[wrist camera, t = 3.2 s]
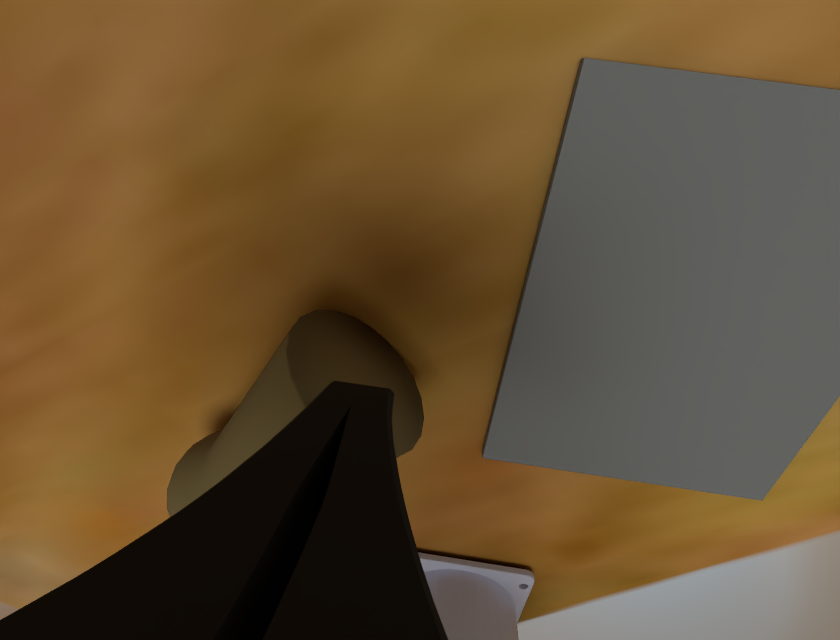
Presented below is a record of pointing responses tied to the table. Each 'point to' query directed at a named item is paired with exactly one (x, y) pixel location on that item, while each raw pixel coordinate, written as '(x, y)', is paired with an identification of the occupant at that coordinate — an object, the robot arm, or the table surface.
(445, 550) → the table surface
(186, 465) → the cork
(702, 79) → the topple mat
